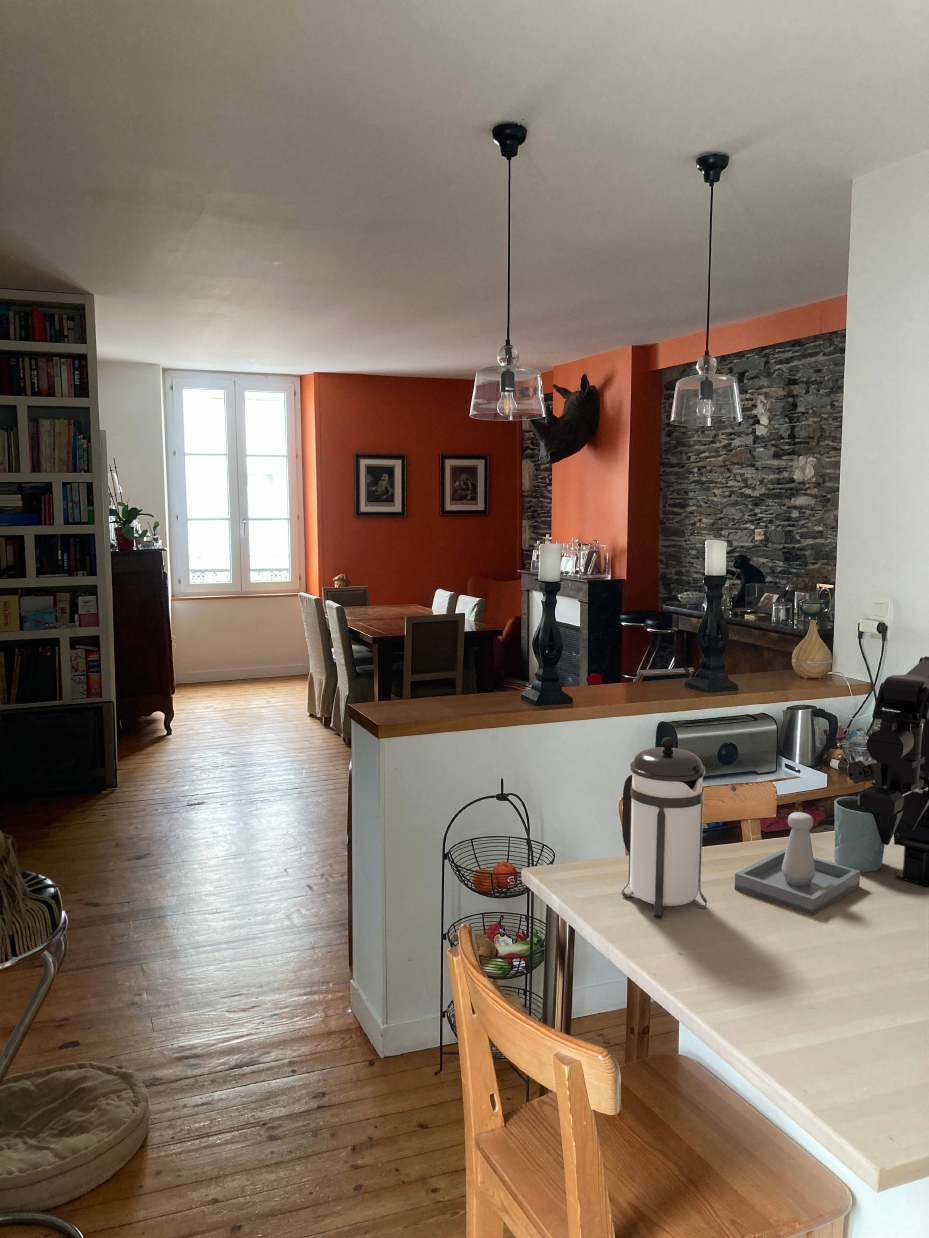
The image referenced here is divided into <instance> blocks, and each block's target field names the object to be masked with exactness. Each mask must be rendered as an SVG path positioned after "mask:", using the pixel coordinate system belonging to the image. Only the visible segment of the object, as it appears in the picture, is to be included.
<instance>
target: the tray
mask: <svg viewBox="0 0 929 1238" xmlns="http://www.w3.org/2000/svg"><path fill="white" fill-rule="evenodd" d="M785 852H786V848H783V849H780V850H778V851H776V852H775V853H773V854H771V855H769V856H767V857H765V858H763V859H761V860H759V861H757V862H755V863H753V864H751V865H749V866H747V867H745V868H743V869H741V870H739V871H738V872H735V873H734V889H735V890H736V891H739V892H741V893H742V892H743V893H746V894H748V895H752V896H754V897H756V898H759V899H762V900H765V901H769V902H770V903H774V904H777V905H780V906H783V907H786V908H789V909H792V910H793V911H794V910H795V911H798V912H801V913H803V914H805V915H809V916H814V915H816V914H818V913H819V912H821V911H823V910H824V909H826V908H827V907H830V906H831V905H832V904H834V903H835V902H837V901H839V900H840V899H842V898H843V897H845V896H846V895H848V894H850V893H851V892H853V891H854V890H856V889H858V888H860V881H861V871H859V870H855V869H852V868H849V867H845V866H842V865H838V864H837V863H836V862H835V863H834V862H832V861H827V860H825V859H821V858H818V857H815V856H813V858H814V866H815V876H814V878H813V879H812V881H811V883H810V885H808V886H806V887H797V886H793V885H790V884H788V883H787V882H786V880H785V877H784V874H783V872H782V864H783V860H784V856H785Z"/></svg>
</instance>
